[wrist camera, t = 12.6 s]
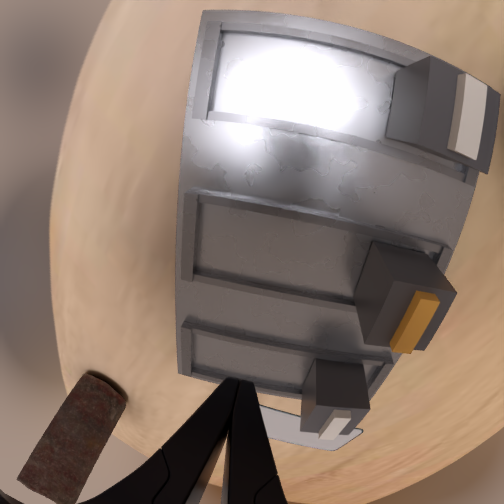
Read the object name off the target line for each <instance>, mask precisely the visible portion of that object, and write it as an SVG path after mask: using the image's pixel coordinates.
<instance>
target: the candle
mask: <svg viewBox="0 0 504 504" xmlns="http://www.w3.org/2000/svg"><path fill="white" fill-rule="evenodd" d="M125 407H126V402H125V400H124V398H123V397H122V396H121V395H119V394H118V393H117V392H116V391H115V390H113V389H112V387H111V386H109V385H108V384H107V383H106V382H104V381H102V380H100V379H97V378H96V377H94V376H92V375H88V374H86V373H85V374H84V375H82V377H81V378H80V380H79V381H78V382H77V384H76V385H75V387H74V388H73V389H72V391H71V392H70V394H69V395H68V397H67V398H66V400H65V401H64V403H63V404H62V406H61V407H60V409H59V410H58V412H57V414H56V415H55V416H54V418H53V420H52V421H51V423H50V425H49V426H48V428H47V429H46V431H45V432H44V434H43V436H42V438H41V439H40V440H39V442H38V444H37V445H36V447H35V449H34V450H33V452H32V453H31V455H30V457H29V459H28V461H27V462H26V464H25V465H24V467H23V469H22V471H21V472H20V474H19V475H18V478H17V480H18V481H20V482H21V483H22V484H24V485H25V486H26V487H27V488H29V489H31V490H32V491H34V492H37V493H39V494H41V495H43V496H45V497H46V498H49V499H51V500H52V501H54V502H55V503H56V504H75V503H76V501H77V499H78V497H79V495H80V493H81V491H82V489H83V487H84V485H85V483H86V481H87V478H88V477H89V475H90V473H91V471H92V469H93V467H94V465H95V463H96V461H97V460H98V458H99V455H100V453H101V452H102V450H103V448H104V446H105V444H106V443H107V441H108V438H109V437H110V435H111V433H112V431H113V430H114V428H115V426H116V424H117V422H118V420H119V419H120V417H121V415H122V413H123V411H124V409H125Z"/></svg>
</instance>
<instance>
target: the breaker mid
mask: <svg viewBox="0 0 504 504" xmlns="http://www.w3.org/2000/svg"><path fill="white" fill-rule="evenodd" d="M456 294H457V292H456V290H455V289H454V288H453V286H452V285H451V284H450V282H449V281H448V280H447V278H446V277H445V276H444V274H443V273H442V272H441V271H440V269H439V268H438V267H437V265H436V264H435V263H434V262H433V260H432V259H431V258H430V257H429V256H428V254H425V253H421V252H417V251H413V250H409V249H405V248H401V247H397V246H392V245H388V244H384V243H380V242H375V241H373V242H372V245H371V248H370V251H369V254H368V257H367V260H366V263H365V266H364V269H363V271H362V274H361V277H360V280H359V282H358V285H357V288H356V290H355V293H354V296H353V298H354V302H355V306H356V310H357V314H358V319H359V323H360V327H361V332H362V336H363V341H364V344H366V345H374V346H382V347H391V350H392V352H396V353H407V354H411V352H412V351H413V350H423V351H424V350H425V349H426V347H427V346H428V344H429V343H430V341H431V339H432V338H433V336H434V334H435V333H436V331H437V329H438V328H439V326H440V324H441V322H442V321H443V319H444V317H445V315H446V313H447V312H448V310H449V308H450V306H451V304H452V302H453V300H454V298H455V296H456Z"/></svg>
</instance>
